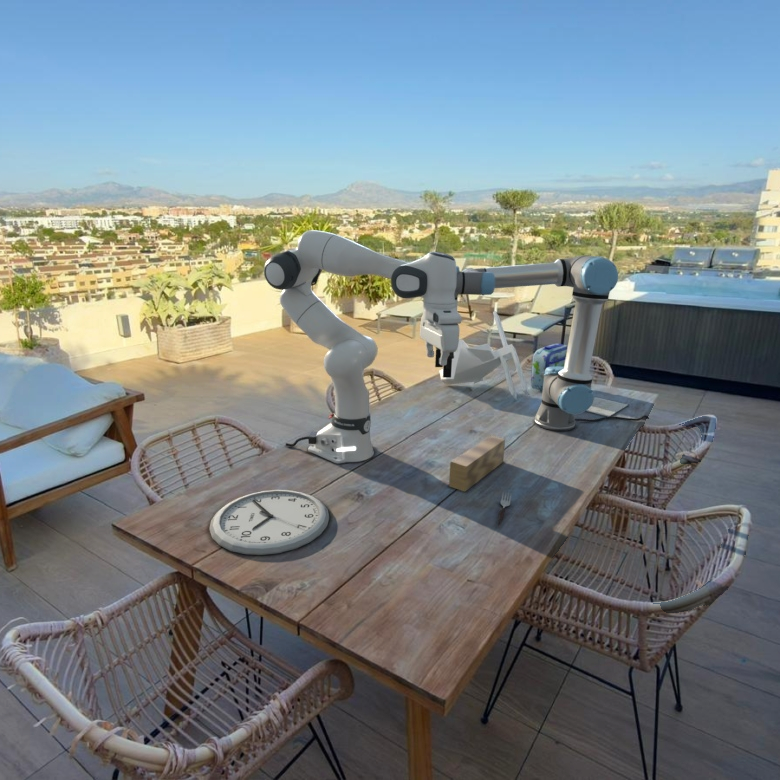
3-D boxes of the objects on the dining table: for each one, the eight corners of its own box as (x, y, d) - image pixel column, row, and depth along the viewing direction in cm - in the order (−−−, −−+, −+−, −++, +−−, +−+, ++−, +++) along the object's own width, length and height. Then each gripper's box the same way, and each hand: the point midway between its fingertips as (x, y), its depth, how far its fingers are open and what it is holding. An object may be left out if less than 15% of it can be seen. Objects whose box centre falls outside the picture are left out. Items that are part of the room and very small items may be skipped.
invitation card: (608, 416, 214) (573, 407, 224) (608, 416, 214) (573, 408, 224) (628, 404, 229) (594, 396, 238) (628, 405, 229) (594, 397, 238)
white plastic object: (461, 429, 252) (437, 405, 227) (444, 352, 274) (420, 323, 250) (535, 404, 240) (518, 377, 215) (510, 326, 262) (492, 293, 237)
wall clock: (327, 546, 121) (194, 551, 119) (327, 552, 122) (195, 557, 119) (330, 485, 150) (223, 488, 147) (330, 490, 150) (224, 493, 148)
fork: (492, 526, 134) (493, 519, 133) (502, 497, 148) (502, 491, 148) (503, 528, 133) (503, 521, 132) (511, 499, 147) (512, 492, 147)
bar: (488, 457, 174) (490, 435, 172) (503, 462, 171) (505, 439, 169) (448, 486, 154) (450, 461, 152) (464, 491, 151) (466, 466, 149)
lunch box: (547, 395, 239) (552, 351, 233) (526, 390, 247) (530, 347, 240) (574, 384, 257) (579, 343, 251) (554, 380, 264) (558, 339, 258)
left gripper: (415, 307, 154) (413, 353, 158) (442, 318, 136) (439, 370, 140) (435, 306, 156) (433, 352, 160) (464, 318, 137) (461, 369, 141)
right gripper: (428, 306, 189) (426, 363, 196) (442, 318, 166) (439, 382, 172) (448, 306, 190) (445, 362, 197) (465, 317, 167) (461, 381, 173)
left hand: (436, 360), depth 150 cm, fingers open, 8 cm apart
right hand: (442, 372), depth 184 cm, fingers open, 13 cm apart
